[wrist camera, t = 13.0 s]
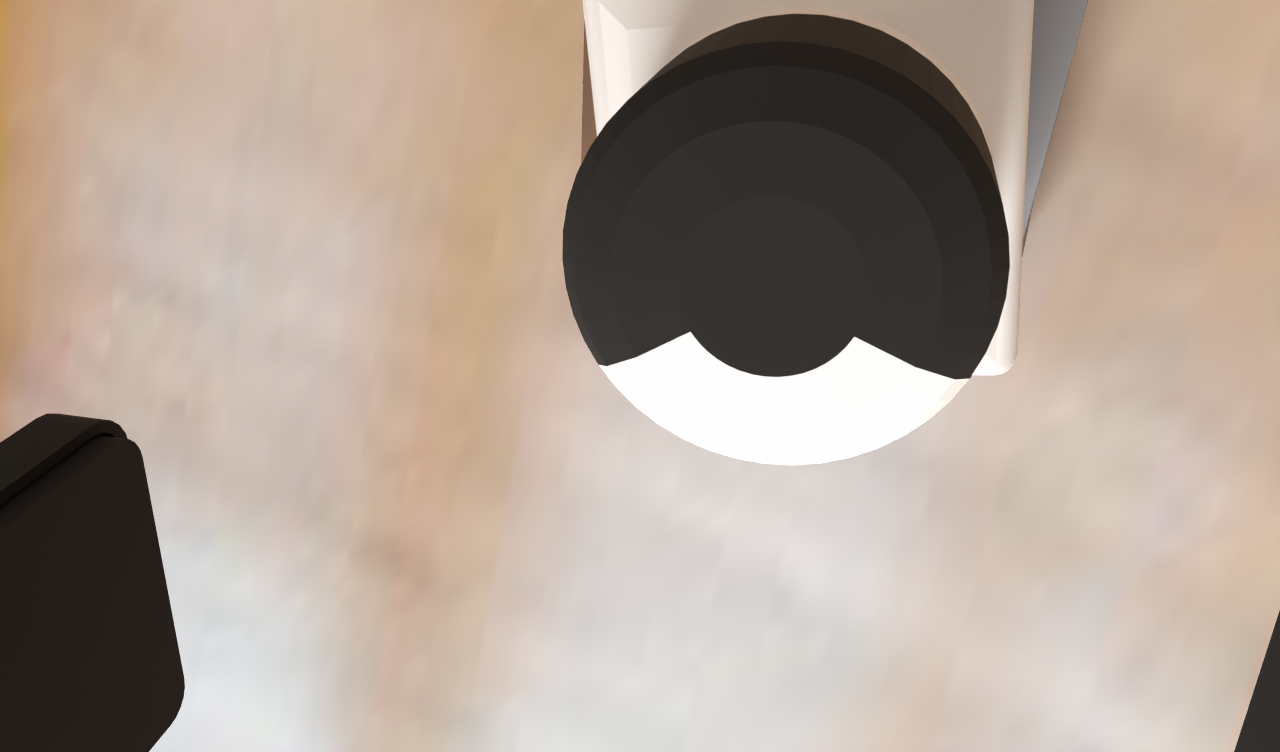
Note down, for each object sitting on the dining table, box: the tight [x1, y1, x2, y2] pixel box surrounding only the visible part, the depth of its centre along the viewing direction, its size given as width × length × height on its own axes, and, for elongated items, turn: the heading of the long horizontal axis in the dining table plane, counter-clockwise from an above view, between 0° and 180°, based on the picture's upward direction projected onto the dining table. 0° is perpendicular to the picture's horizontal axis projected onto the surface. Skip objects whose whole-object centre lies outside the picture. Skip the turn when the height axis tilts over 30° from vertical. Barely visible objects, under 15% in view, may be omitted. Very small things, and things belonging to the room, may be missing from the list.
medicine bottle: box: [563, 0, 1034, 465], centre depth 20 cm, size 7×7×12 cm
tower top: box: [1023, 0, 1088, 237], centre depth 27 cm, size 10×10×4 cm
